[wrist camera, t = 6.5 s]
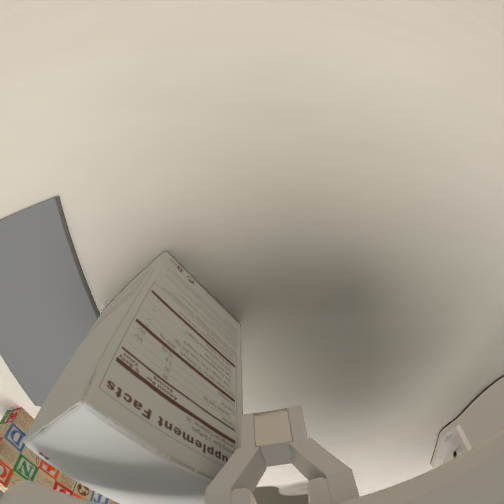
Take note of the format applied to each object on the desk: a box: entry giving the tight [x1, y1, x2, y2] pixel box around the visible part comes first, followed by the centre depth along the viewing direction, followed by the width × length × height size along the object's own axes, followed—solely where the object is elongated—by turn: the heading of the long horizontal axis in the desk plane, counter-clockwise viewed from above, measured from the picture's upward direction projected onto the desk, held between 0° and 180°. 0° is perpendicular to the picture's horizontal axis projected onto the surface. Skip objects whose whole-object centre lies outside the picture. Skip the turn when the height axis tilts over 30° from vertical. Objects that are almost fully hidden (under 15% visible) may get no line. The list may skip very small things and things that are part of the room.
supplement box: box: [23, 251, 243, 504], centre depth 14 cm, size 7×7×13 cm
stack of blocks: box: [0, 407, 119, 504], centre depth 22 cm, size 21×6×12 cm, turn 28°
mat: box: [0, 196, 100, 407], centre depth 20 cm, size 20×16×1 cm
